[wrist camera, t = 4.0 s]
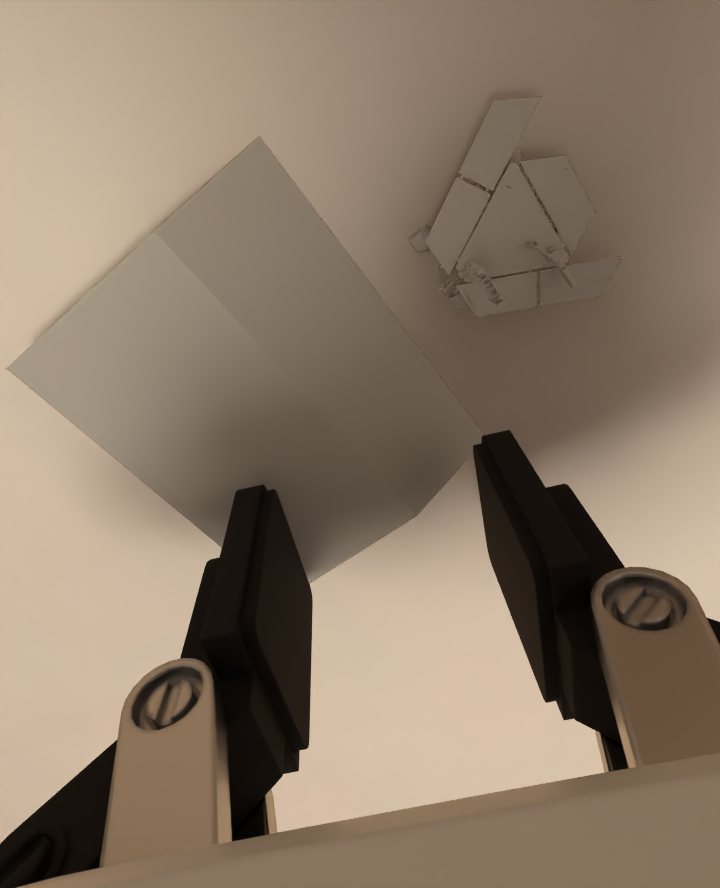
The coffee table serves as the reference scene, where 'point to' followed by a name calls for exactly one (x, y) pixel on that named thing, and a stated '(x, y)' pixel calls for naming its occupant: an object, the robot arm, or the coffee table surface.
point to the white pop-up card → (303, 344)
